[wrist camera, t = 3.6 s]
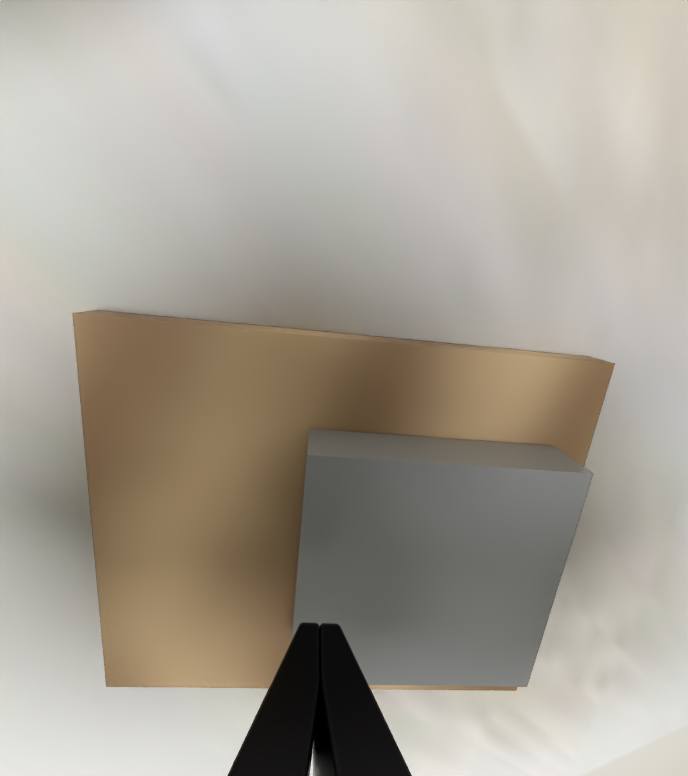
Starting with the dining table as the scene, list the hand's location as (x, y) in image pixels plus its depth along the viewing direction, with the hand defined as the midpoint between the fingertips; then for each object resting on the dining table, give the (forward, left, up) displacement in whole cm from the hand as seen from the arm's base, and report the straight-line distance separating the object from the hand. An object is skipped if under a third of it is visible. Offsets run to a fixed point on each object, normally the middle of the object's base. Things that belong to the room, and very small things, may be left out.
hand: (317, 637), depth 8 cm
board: (-1, 0, -4) cm, 4 cm away
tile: (+1, 0, -2) cm, 2 cm away
